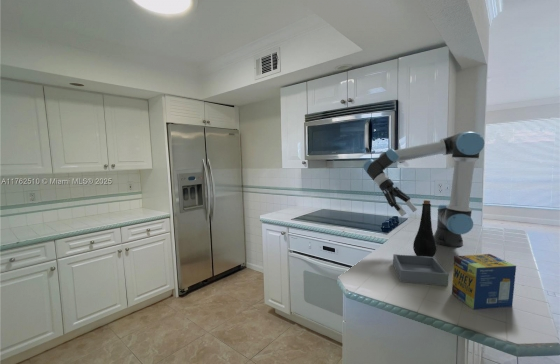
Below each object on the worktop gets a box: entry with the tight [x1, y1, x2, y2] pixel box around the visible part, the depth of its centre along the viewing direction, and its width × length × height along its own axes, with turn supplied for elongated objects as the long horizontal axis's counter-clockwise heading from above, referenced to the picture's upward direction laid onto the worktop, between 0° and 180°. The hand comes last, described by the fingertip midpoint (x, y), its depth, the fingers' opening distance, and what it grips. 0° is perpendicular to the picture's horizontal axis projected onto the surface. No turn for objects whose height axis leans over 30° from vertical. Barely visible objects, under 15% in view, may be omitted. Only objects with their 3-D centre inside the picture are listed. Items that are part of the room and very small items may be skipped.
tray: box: [392, 253, 449, 287], centre depth 117 cm, size 18×18×5 cm
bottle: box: [412, 200, 437, 257], centre depth 133 cm, size 11×11×30 cm
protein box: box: [451, 253, 517, 310], centre depth 95 cm, size 10×15×16 cm
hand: (410, 212), depth 138 cm, fingers open, 13 cm apart
